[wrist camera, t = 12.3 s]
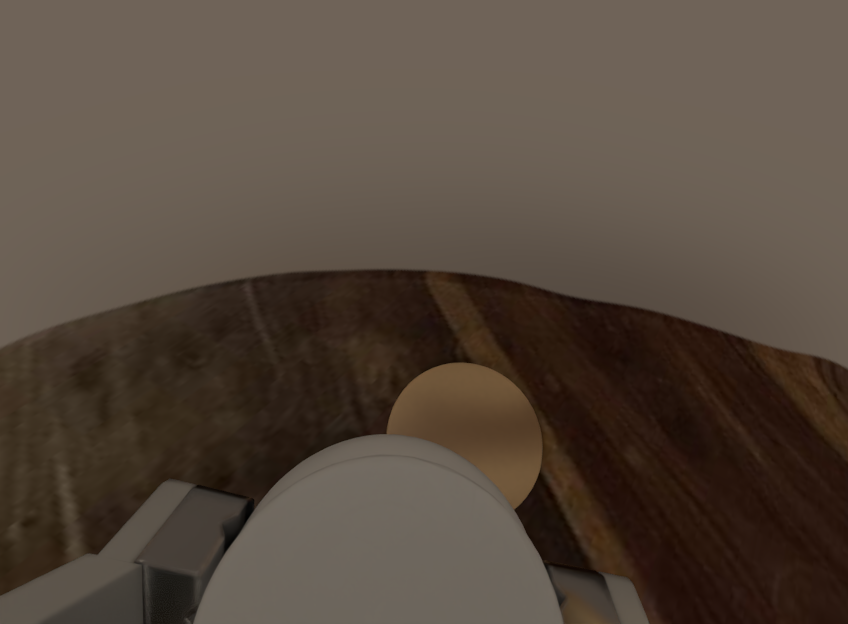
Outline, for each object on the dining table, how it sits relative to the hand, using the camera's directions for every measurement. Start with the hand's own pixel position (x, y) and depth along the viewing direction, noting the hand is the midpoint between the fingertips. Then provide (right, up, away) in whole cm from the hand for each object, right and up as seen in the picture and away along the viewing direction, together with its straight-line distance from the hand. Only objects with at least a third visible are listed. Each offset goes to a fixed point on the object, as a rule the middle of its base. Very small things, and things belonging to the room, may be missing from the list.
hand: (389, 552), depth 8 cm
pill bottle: (-1, -3, +5) cm, 5 cm away
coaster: (+3, -3, +18) cm, 18 cm away
